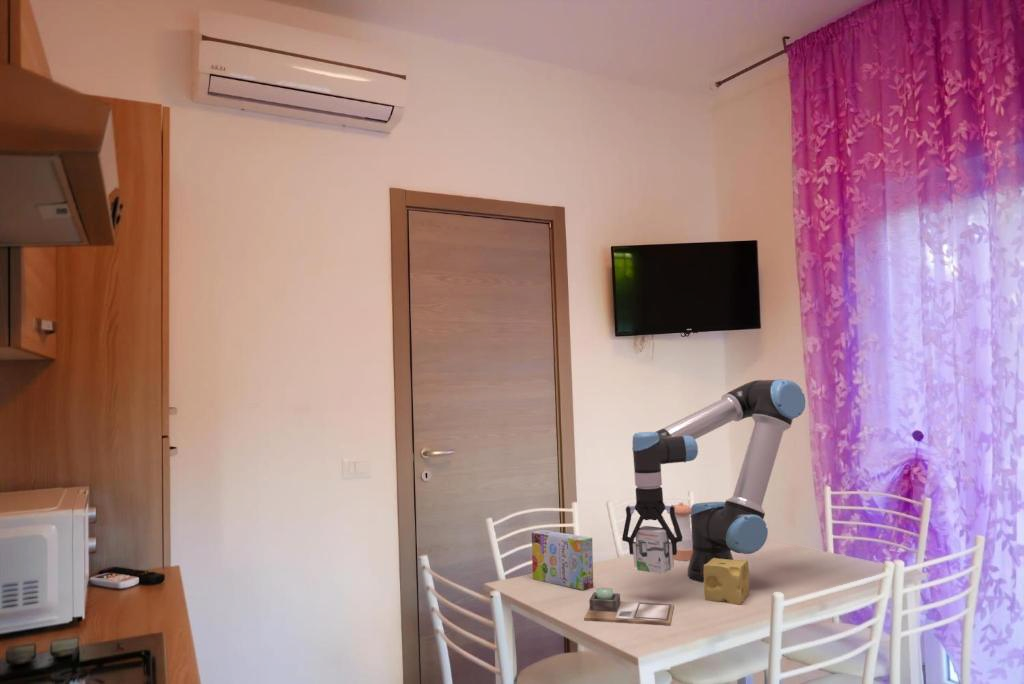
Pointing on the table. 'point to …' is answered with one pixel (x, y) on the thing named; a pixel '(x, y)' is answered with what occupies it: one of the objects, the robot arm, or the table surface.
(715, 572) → the cheese
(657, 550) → the ink box
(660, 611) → the wooden tray
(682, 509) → the salt shaker
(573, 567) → the snack box
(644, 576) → the table surface
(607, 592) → the button
